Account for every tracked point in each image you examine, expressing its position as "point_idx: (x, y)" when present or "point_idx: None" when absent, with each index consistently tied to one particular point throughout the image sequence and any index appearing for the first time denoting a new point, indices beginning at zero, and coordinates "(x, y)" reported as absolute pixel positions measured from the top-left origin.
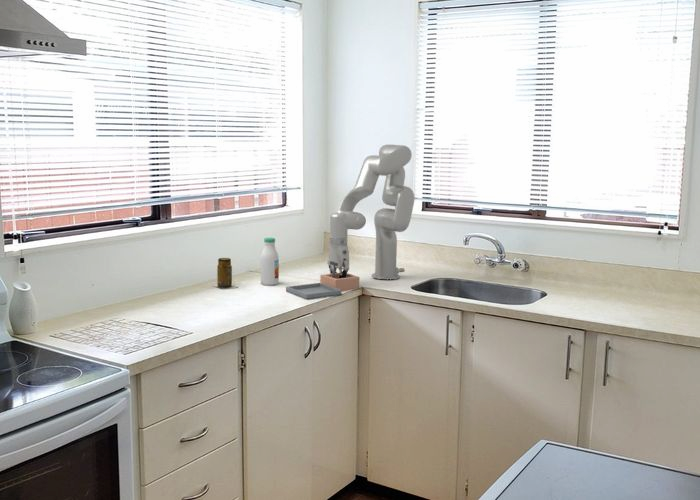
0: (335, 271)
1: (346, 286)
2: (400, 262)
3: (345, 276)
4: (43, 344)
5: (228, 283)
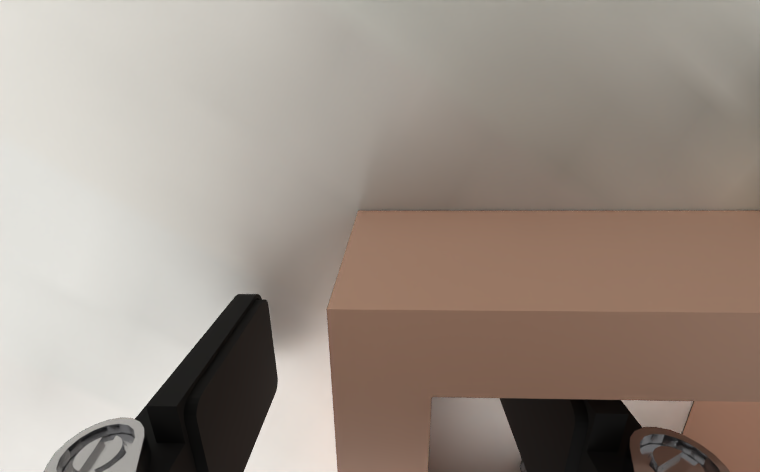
0: (140, 428)
1: None
2: None
3: None
4: None
5: None
